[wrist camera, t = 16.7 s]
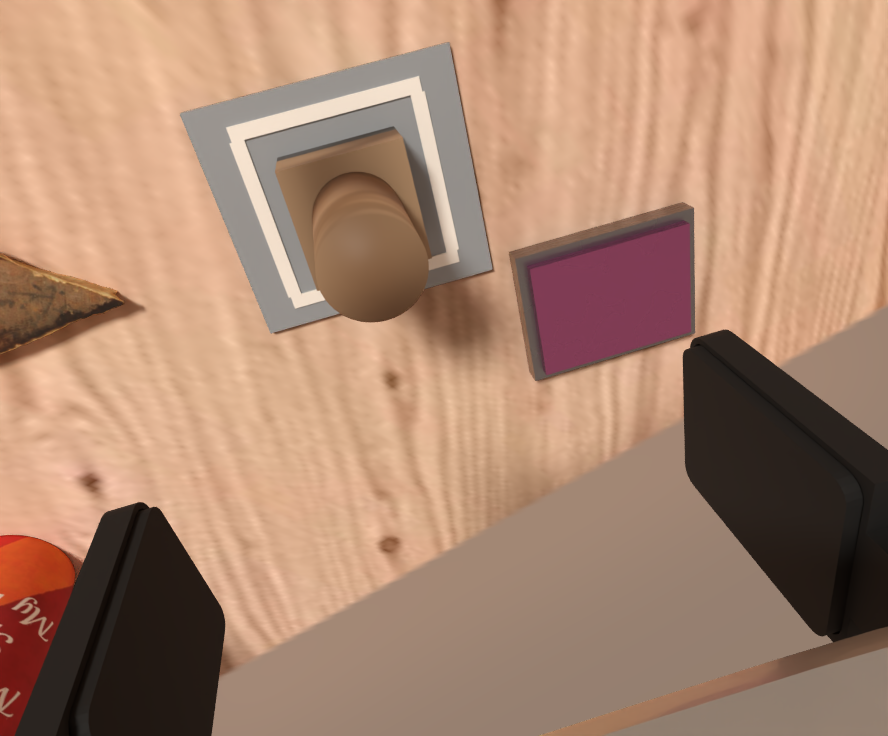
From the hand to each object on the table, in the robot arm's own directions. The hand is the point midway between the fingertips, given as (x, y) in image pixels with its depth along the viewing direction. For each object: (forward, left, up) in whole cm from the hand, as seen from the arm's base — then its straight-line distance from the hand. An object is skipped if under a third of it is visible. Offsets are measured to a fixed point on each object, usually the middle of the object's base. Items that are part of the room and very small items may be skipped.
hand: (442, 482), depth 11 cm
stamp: (0, 0, -19) cm, 19 cm away
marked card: (0, 0, -20) cm, 20 cm away
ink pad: (-11, +8, -20) cm, 24 cm away
